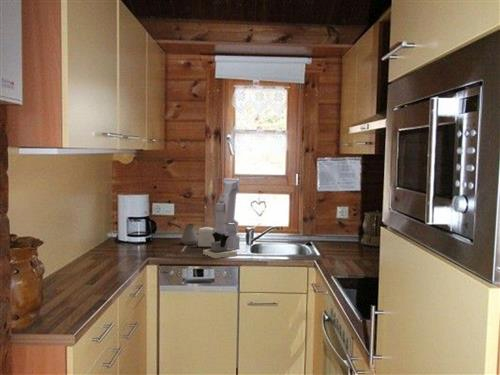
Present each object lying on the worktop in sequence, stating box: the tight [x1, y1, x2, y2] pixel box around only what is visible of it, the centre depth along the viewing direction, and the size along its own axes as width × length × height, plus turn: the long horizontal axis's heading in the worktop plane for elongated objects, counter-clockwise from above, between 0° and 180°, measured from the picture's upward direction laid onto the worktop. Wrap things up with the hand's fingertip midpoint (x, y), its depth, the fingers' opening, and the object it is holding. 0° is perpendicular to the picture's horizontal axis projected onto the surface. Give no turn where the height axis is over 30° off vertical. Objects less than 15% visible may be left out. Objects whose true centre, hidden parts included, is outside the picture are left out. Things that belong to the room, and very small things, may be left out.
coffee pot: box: [168, 222, 198, 246], centre depth 297 cm, size 21×12×15 cm, turn 132°
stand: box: [202, 248, 238, 259], centre depth 269 cm, size 15×13×3 cm
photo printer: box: [197, 226, 215, 248], centre depth 293 cm, size 10×4×12 cm, turn 98°
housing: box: [210, 241, 227, 252], centre depth 268 cm, size 4×8×5 cm, turn 126°
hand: (220, 246), depth 268 cm, fingers open, 5 cm apart
